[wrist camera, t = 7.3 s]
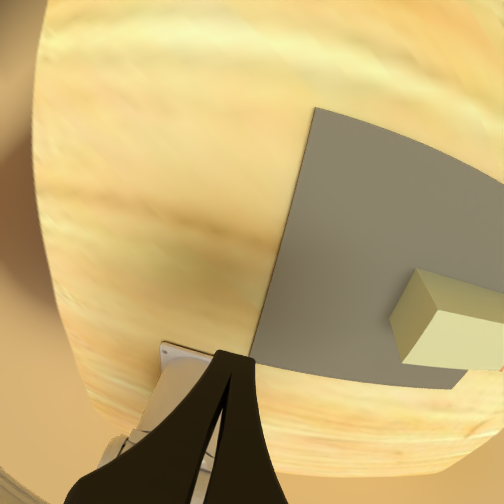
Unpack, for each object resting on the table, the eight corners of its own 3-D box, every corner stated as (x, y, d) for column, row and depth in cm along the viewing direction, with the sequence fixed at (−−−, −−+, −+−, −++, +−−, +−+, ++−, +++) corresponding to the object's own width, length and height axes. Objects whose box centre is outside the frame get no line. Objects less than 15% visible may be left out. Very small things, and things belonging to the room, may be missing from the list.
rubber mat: (449, 385, 24) (451, 389, 23) (249, 356, 25) (247, 361, 24) (553, 218, 14) (557, 221, 13) (315, 107, 15) (316, 107, 14)
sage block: (389, 318, 20) (483, 335, 20) (401, 363, 16) (501, 371, 16) (415, 267, 18) (510, 295, 17) (438, 309, 14) (533, 330, 13)
